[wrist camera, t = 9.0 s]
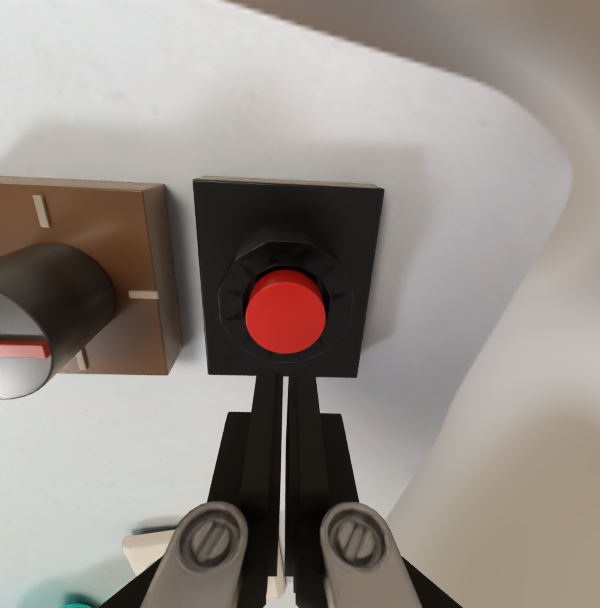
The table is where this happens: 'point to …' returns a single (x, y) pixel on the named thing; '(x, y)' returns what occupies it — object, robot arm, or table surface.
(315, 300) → the power button
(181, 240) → the table surface
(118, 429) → the table surface
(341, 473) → the robot arm
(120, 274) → the dimmer panel
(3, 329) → the dimmer knob
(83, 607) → the donuts
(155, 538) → the light switch
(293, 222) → the switch block
